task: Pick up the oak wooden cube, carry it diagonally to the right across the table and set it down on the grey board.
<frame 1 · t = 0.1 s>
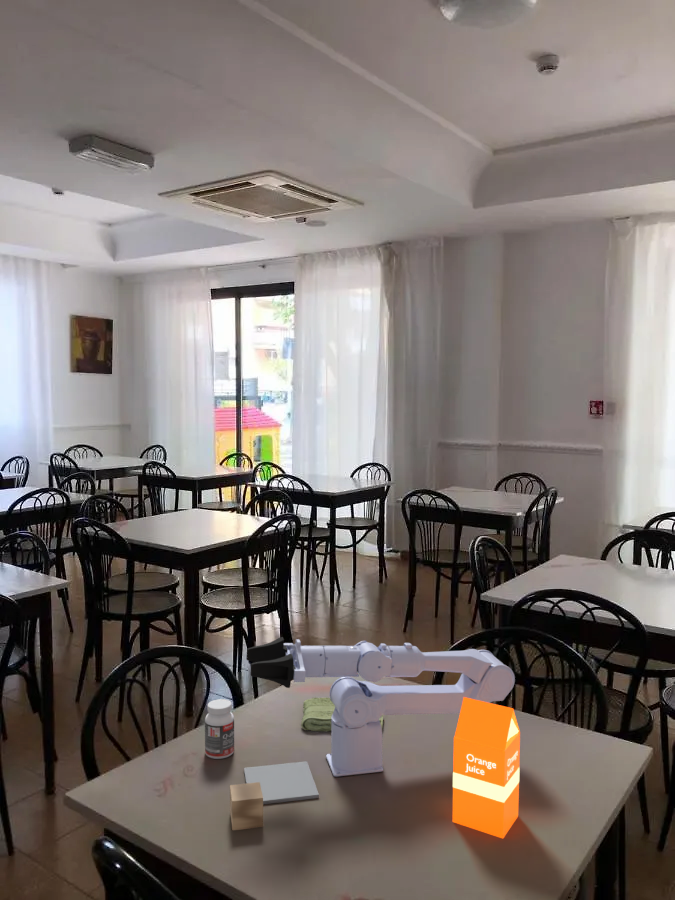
hand: (248, 661, 135), 22 cm above the table, tool horizontal, fingers open, 7 cm apart
grey board: (280, 783, 134), on the table
washcloth: (342, 721, 161), on the table
orange juice: (485, 819, 123), on the table
oak cube: (246, 820, 123), on the table
pill bottle: (219, 753, 146), on the table
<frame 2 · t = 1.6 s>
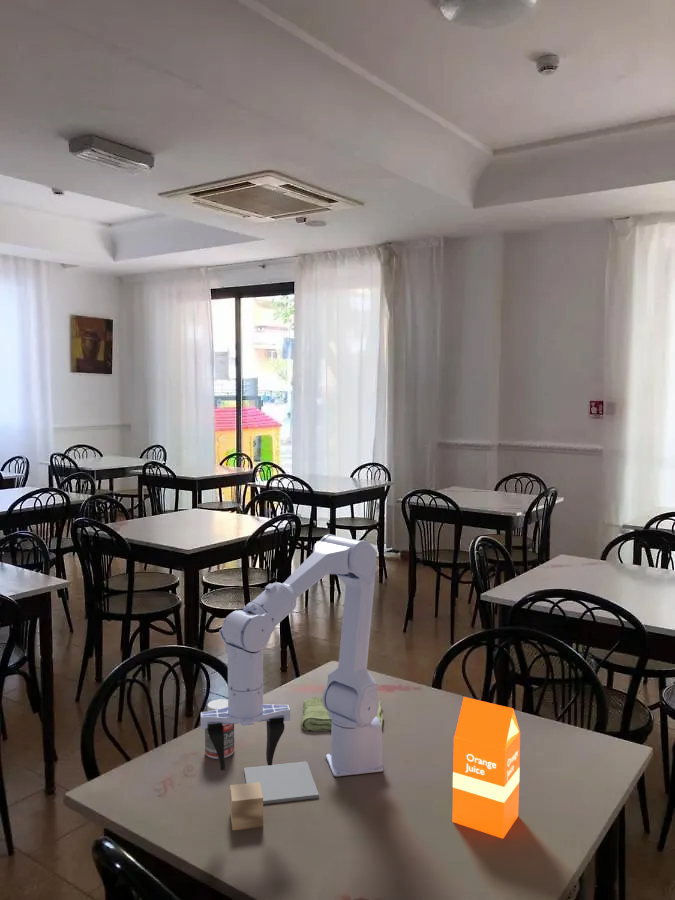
hand: (246, 764, 122), 9 cm above the table, tool pointing down, fingers open, 7 cm apart
nothing on the table moved.
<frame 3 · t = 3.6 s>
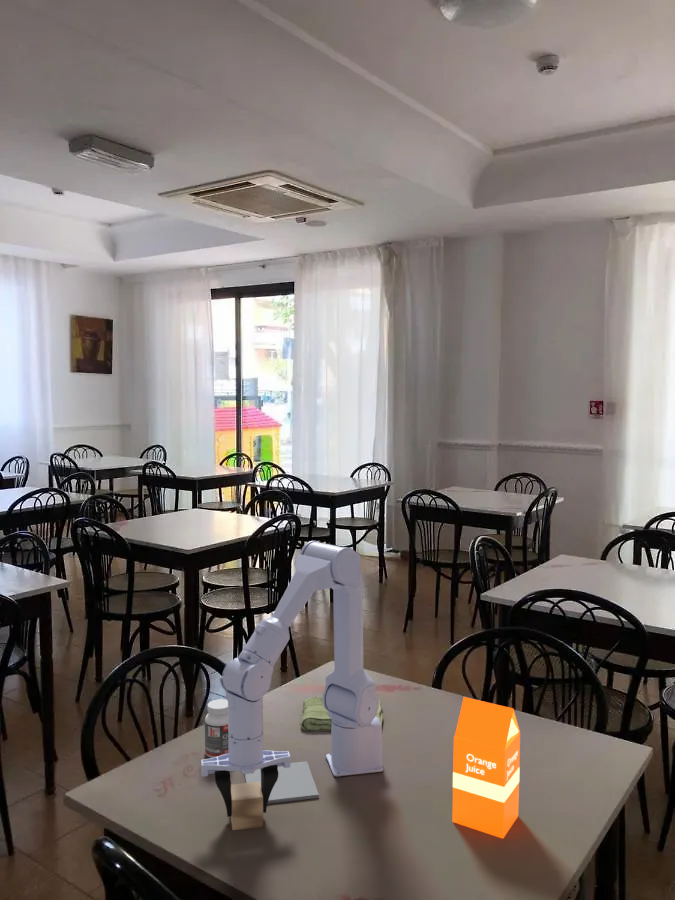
hand: (246, 811, 123), 1 cm above the table, tool pointing down, fingers closed on oak cube, 5 cm apart
oak cube: (246, 819, 123), on the table, touching gripper
everything else where it was.
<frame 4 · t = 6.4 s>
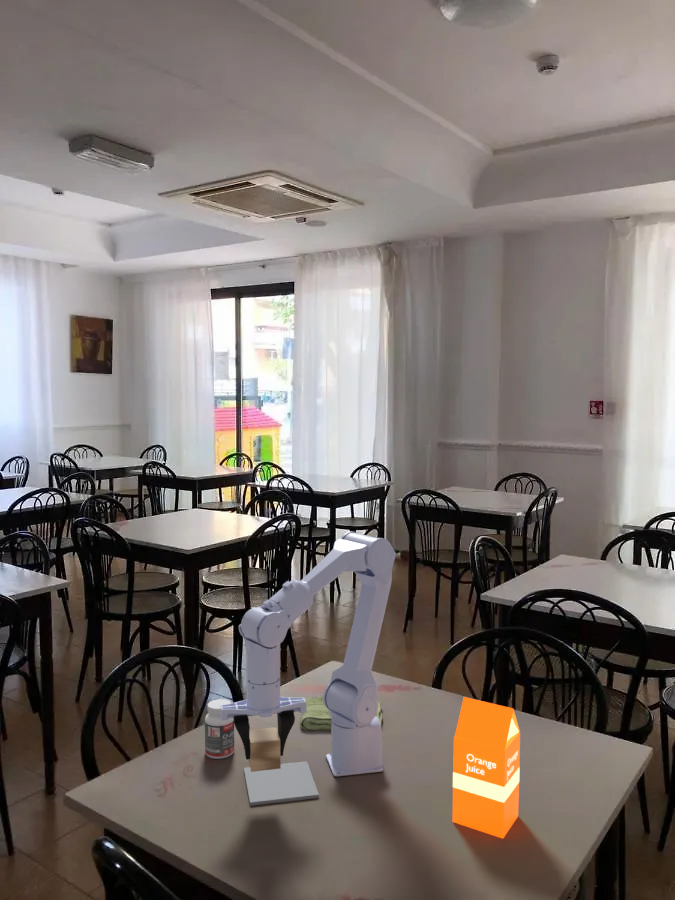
hand: (264, 754, 128), 8 cm above the table, tool pointing down, fingers closed on oak cube, 5 cm apart
oak cube: (264, 762, 128), point 7 cm above the table, touching gripper
everything else where it was.
when the fingers open (3 cm above the table, at t = 9.4 s): oak cube drops 1 cm, resting on grey board.
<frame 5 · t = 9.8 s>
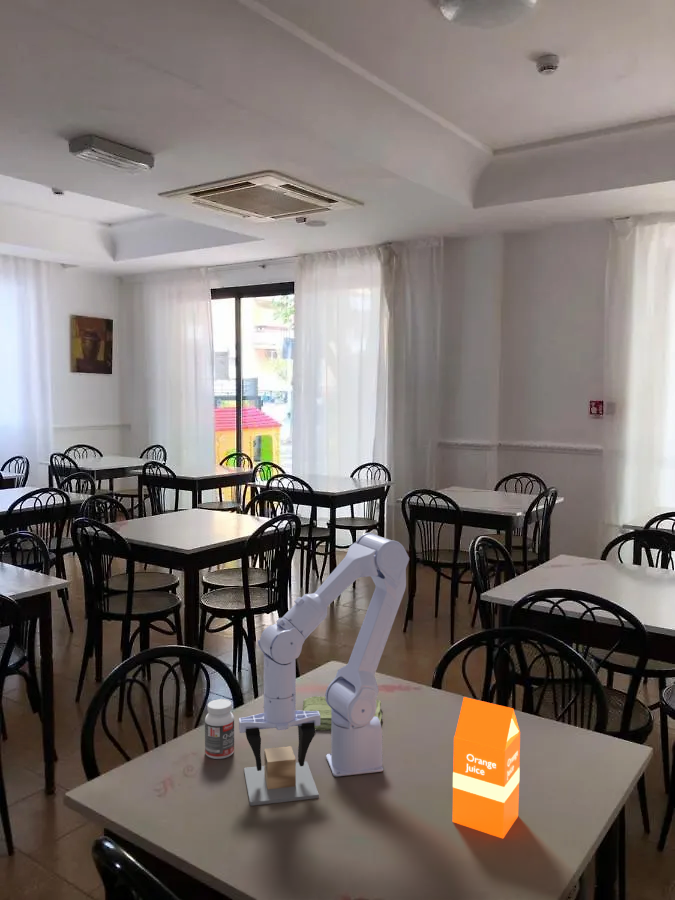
hand: (280, 765, 134), 3 cm above the table, tool pointing down, fingers open, 7 cm apart
oak cube: (279, 780, 134), point 1 cm above the table, touching grey board
everything else where it was.
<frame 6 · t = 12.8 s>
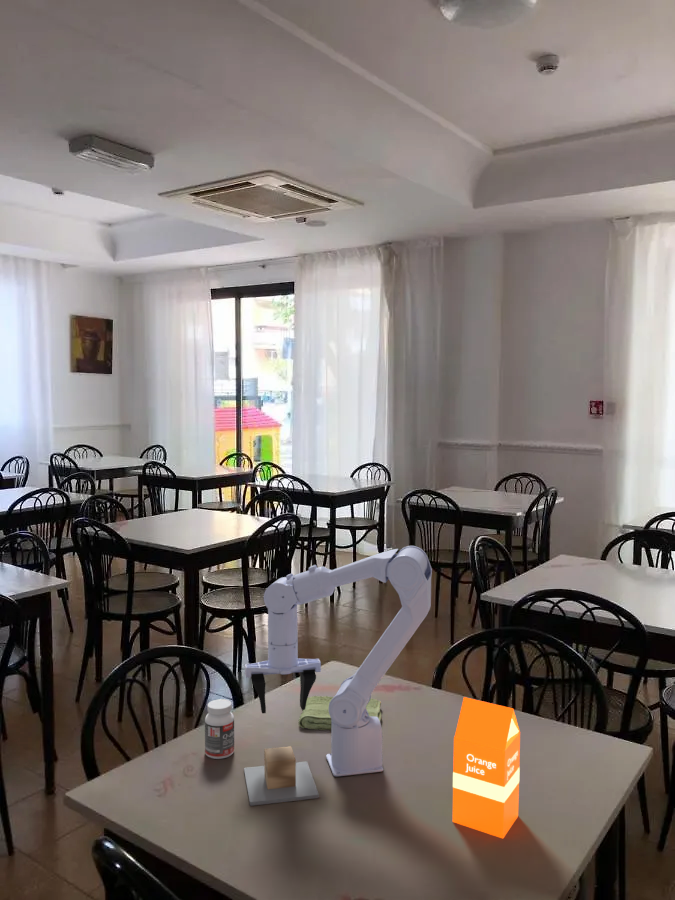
hand: (283, 709, 144), 9 cm above the table, tool pointing down, fingers open, 7 cm apart
nothing on the table moved.
at the end: oak cube inside the target area on the grey board (0.0 cm from its centre), point 0.6 cm above the grey board's base; oak cube tilted 0°; the gripper is holding nothing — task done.
